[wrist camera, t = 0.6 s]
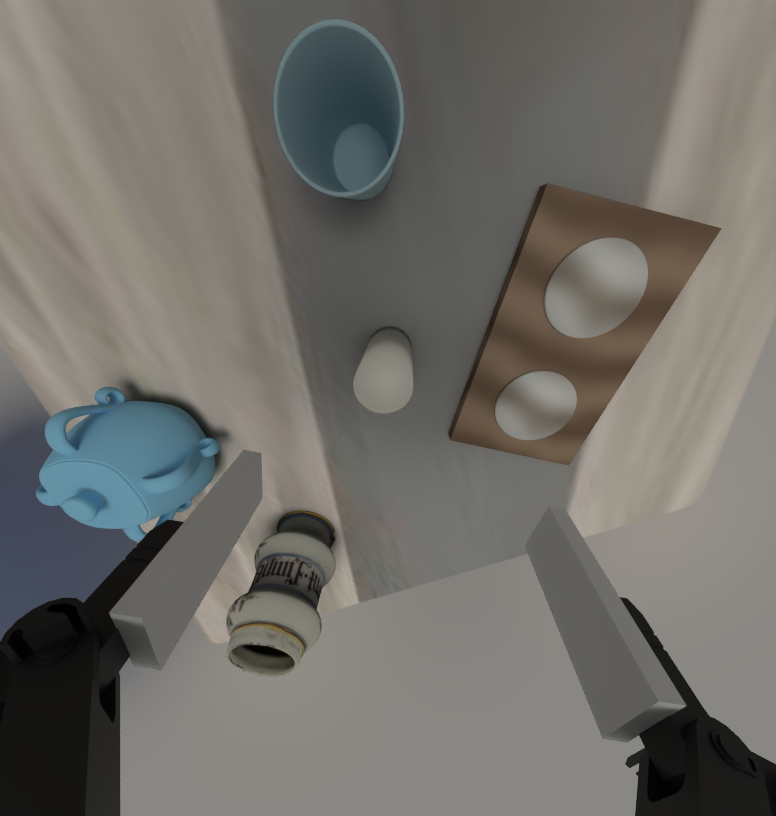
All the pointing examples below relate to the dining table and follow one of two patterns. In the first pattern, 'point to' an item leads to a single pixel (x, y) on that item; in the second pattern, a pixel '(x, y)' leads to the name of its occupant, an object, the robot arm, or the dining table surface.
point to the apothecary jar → (282, 597)
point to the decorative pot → (125, 463)
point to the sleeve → (385, 372)
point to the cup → (339, 109)
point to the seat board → (573, 320)
